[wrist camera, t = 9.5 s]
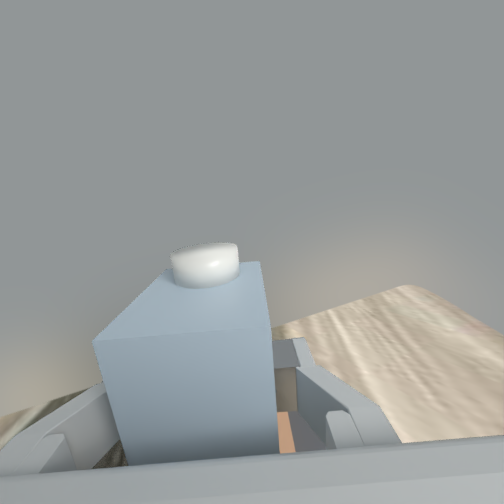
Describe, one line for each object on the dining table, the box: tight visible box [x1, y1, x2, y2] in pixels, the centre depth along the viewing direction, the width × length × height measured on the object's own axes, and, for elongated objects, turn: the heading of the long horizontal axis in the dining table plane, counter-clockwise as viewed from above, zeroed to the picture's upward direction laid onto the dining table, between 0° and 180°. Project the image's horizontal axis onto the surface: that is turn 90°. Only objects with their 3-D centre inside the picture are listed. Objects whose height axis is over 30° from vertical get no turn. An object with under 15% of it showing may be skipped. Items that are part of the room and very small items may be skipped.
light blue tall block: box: [92, 242, 280, 466], centre depth 9 cm, size 4×5×11 cm
